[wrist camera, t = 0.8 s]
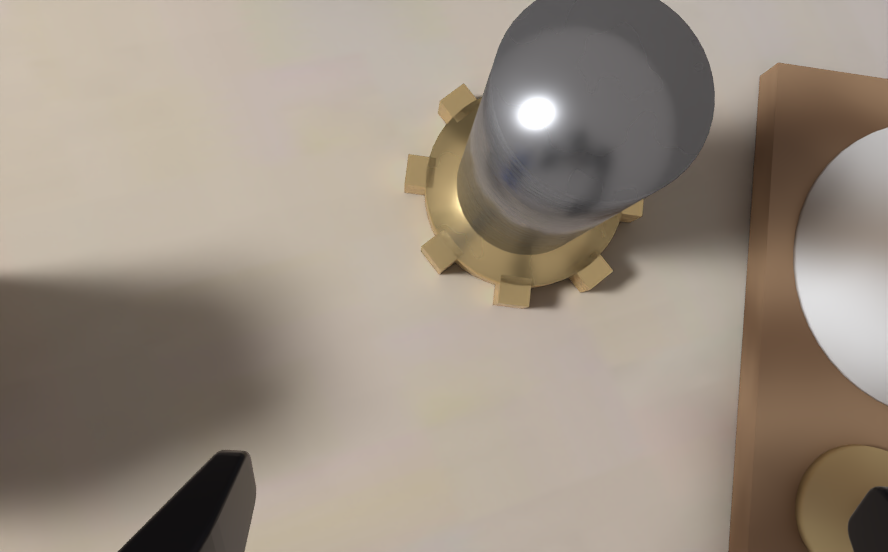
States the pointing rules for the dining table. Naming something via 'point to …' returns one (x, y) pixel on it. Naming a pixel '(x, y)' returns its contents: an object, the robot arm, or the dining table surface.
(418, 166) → the loose gear
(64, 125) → the dining table surface
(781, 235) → the gear board
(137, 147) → the dining table surface
